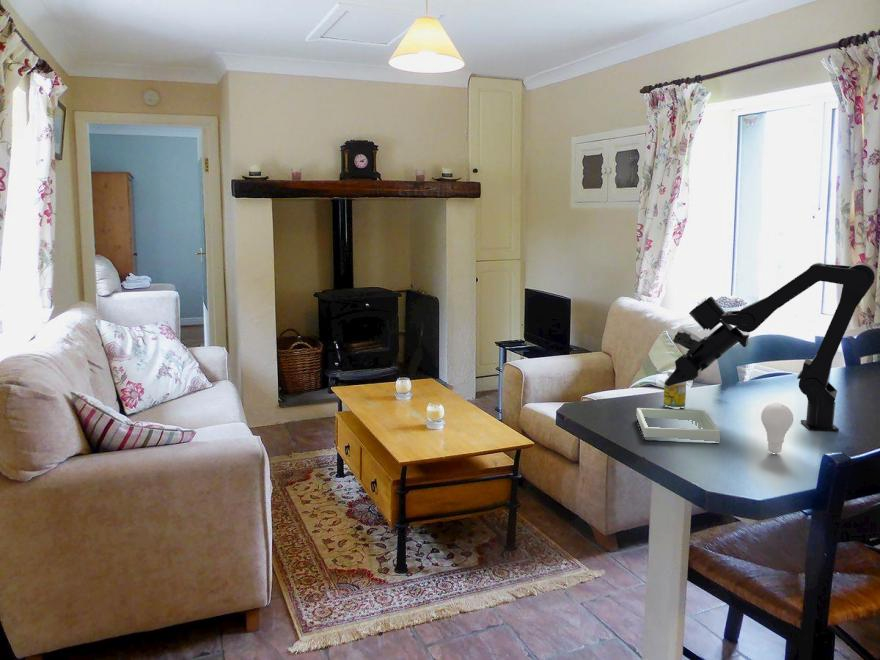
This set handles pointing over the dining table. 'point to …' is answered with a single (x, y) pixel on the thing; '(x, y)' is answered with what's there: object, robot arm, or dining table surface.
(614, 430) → the dining table surface
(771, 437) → the lightbulb
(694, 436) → the bin
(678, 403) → the supplement bottle
